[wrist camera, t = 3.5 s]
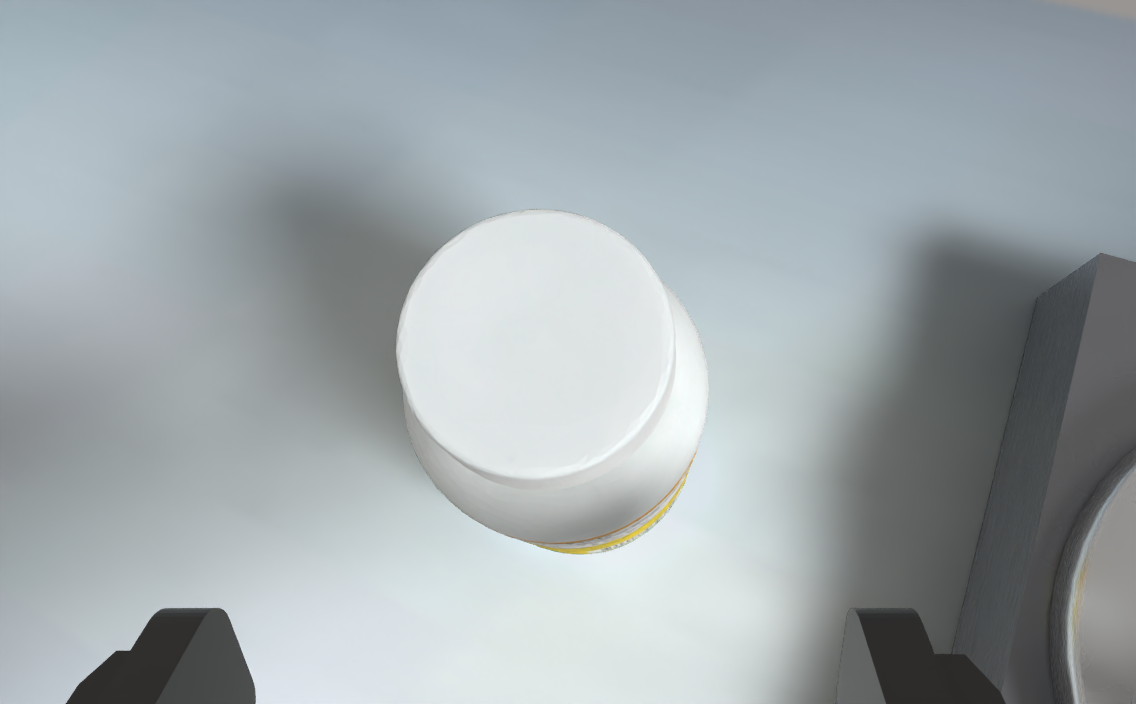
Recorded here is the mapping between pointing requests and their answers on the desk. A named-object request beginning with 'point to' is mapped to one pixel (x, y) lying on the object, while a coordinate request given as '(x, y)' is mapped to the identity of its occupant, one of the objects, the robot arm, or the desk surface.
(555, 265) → the supplement bottle
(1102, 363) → the scale
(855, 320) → the desk surface
